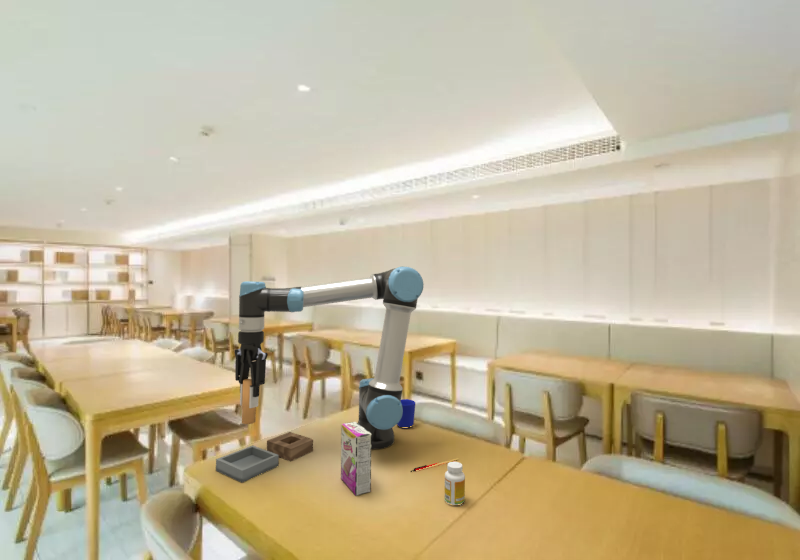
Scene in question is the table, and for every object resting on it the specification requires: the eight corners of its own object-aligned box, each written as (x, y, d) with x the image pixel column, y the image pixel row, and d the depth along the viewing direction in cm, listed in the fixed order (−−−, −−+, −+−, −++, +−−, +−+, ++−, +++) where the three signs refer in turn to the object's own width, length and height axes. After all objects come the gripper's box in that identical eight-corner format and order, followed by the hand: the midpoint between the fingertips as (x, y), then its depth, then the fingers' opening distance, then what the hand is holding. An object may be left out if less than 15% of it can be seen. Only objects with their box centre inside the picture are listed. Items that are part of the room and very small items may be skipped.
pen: (410, 472, 120) (410, 468, 121) (458, 459, 130) (458, 456, 130) (411, 473, 120) (411, 469, 120) (459, 460, 129) (459, 457, 129)
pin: (258, 421, 121) (259, 379, 122) (246, 425, 118) (248, 382, 118) (250, 419, 123) (251, 378, 124) (238, 422, 120) (240, 380, 120)
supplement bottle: (466, 498, 106) (466, 462, 106) (462, 508, 100) (463, 470, 101) (446, 494, 107) (447, 458, 108) (442, 504, 102) (442, 467, 102)
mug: (416, 420, 168) (416, 397, 168) (414, 430, 156) (414, 405, 156) (397, 419, 168) (397, 396, 169) (394, 429, 156) (394, 404, 157)
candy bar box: (339, 479, 115) (340, 423, 115) (354, 475, 117) (356, 420, 118) (355, 497, 105) (356, 436, 105) (371, 492, 108) (372, 432, 108)
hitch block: (313, 450, 134) (313, 439, 134) (290, 461, 126) (290, 448, 126) (289, 442, 141) (289, 431, 141) (266, 452, 132) (266, 440, 132)
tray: (278, 466, 122) (278, 454, 122) (241, 482, 111) (242, 470, 111) (252, 455, 129) (252, 445, 129) (215, 470, 118) (216, 459, 119)
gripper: (224, 329, 123) (221, 403, 122) (258, 333, 114) (256, 414, 113) (245, 327, 129) (242, 398, 129) (279, 331, 120) (276, 407, 119)
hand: (249, 405), depth 121 cm, fingers closed on pin, 4 cm apart
